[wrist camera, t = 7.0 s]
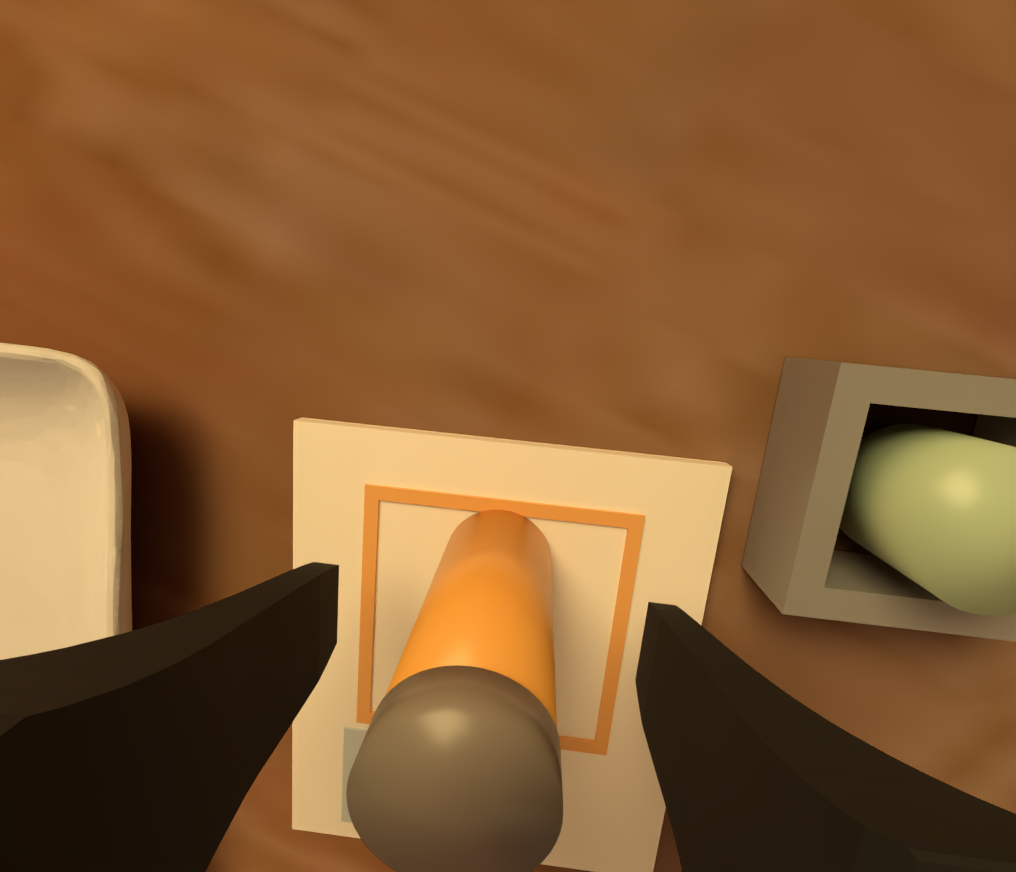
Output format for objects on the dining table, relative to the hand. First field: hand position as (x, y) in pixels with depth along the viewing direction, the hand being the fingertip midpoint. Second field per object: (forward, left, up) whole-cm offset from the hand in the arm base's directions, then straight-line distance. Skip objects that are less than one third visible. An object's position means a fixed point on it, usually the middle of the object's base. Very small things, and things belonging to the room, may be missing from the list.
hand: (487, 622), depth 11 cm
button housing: (+4, -10, -4) cm, 11 cm away
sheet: (-3, 0, -4) cm, 5 cm away
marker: (0, 0, -3) cm, 3 cm away
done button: (+4, -10, -4) cm, 11 cm away
